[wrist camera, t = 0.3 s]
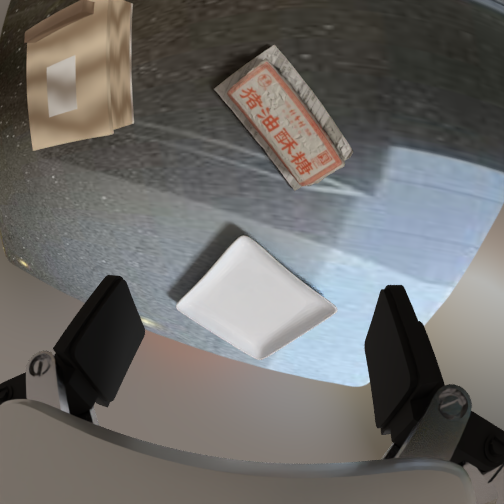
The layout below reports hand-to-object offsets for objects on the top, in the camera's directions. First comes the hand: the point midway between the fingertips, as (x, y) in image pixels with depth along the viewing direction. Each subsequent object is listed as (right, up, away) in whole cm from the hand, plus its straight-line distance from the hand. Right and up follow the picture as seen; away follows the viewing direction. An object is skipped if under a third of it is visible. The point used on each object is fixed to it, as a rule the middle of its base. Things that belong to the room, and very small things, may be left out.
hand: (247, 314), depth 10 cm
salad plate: (+1, -6, +41) cm, 41 cm away
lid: (-26, +27, +16) cm, 41 cm away
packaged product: (+5, +20, +24) cm, 32 cm away
